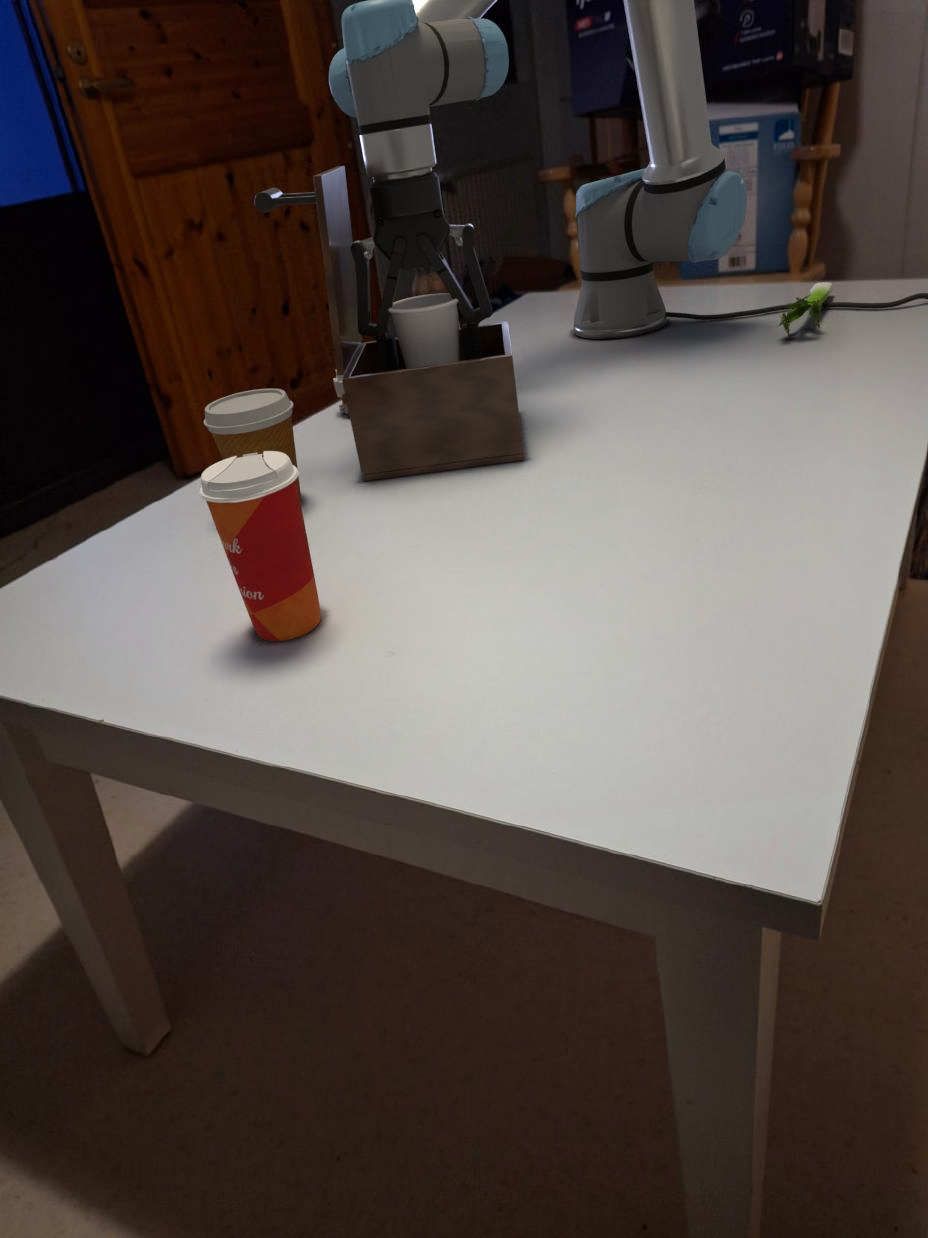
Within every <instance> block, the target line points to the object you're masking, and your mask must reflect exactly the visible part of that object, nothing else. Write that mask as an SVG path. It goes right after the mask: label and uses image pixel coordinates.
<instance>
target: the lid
mask: <svg viewBox="0 0 928 1238" xmlns="http://www.w3.org/2000/svg"><path fill="white" fill-rule="evenodd" d="M312 178H313V186H314V191H310V192H307V191H306V192H292V193H290V192H289V193H283V192H282V191H281V190H280V189H279V188H277V187H270V188H268V189H265V190H262V191H259V192H258V193H256V195H255V196H254V201H253V203H254V206H255V209H256V210H257V211H259V212H260V213H262V214H263V213H264V214H267V213H269V212H272V211H274V210H276V209H277V208H279V207H281V206H288V205H289V206H290V205H305V204H306V205H308V204H316V210H317V220H318V229H319V237H320V243H321V245H320V246H321V252H322V259H323V270H324V278H325V285H326V293H327V294H326V295H327V301H328V311H329V319H330V326H331V327H330V328H331V335H332V343H333V345H332V346H333V353H334V362H335V370H337V375H345V373H346V371H347V369H348V367H349V365H350V363H351V361H352V359H353V357H354V355H355V353H356V351H357V349H358V347H359V345H360V343H362V341H363V337H364V336H362V335H360V334H359V332H358V312H357V269H356V263H355V261H354V258H353V255H352V252H351V249H350V248H351V245H352V244H353V243H354V242H353V233H352V225H351V214H350V205H349V195H348V194H349V193H348V185H347V177H346V167H345V165H337V166H335V167H332V168H330V169H327V170H325V171H323V172H320V173H317V174H316V175H315V174H314V175H313V177H312Z"/></svg>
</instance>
